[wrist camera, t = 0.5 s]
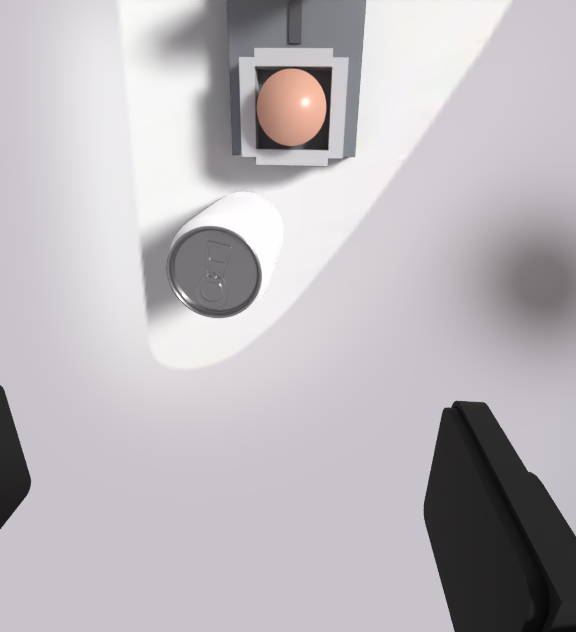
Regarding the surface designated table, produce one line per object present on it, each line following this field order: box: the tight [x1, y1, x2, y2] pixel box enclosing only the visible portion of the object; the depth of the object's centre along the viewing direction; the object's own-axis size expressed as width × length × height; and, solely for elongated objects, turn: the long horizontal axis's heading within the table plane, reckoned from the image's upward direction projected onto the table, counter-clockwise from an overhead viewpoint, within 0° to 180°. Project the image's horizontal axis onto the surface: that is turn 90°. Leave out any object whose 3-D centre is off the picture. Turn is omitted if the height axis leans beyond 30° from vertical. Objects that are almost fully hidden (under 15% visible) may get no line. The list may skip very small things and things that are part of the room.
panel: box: [227, 0, 366, 166], centre depth 28 cm, size 20×9×4 cm, turn 179°
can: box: [167, 191, 283, 318], centre depth 30 cm, size 6×6×12 cm
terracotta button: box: [257, 69, 326, 146], centre depth 28 cm, size 4×4×2 cm
